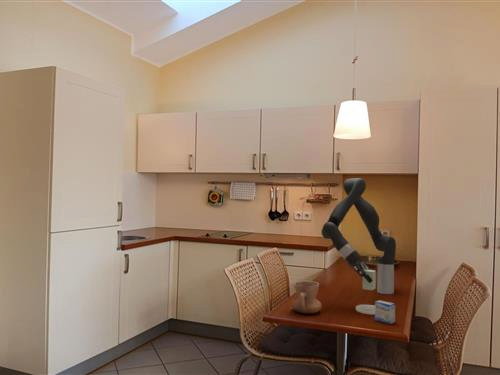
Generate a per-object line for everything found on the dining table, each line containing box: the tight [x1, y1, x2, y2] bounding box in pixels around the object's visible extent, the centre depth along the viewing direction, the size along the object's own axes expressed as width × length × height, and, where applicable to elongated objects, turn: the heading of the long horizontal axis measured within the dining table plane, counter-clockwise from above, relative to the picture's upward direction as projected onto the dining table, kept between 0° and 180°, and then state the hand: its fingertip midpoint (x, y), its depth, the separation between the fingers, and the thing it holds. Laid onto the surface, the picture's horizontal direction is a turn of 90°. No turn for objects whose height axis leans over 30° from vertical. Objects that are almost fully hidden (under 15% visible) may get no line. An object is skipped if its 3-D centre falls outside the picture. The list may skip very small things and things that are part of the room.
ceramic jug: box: [291, 280, 323, 315], centre depth 204 cm, size 18×14×14 cm
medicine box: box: [374, 299, 396, 325], centre depth 191 cm, size 8×4×9 cm, turn 45°
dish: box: [355, 304, 375, 316], centre depth 207 cm, size 13×13×1 cm
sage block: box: [362, 269, 377, 291], centre depth 207 cm, size 5×5×9 cm
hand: (372, 280), depth 206 cm, fingers closed on sage block, 5 cm apart
